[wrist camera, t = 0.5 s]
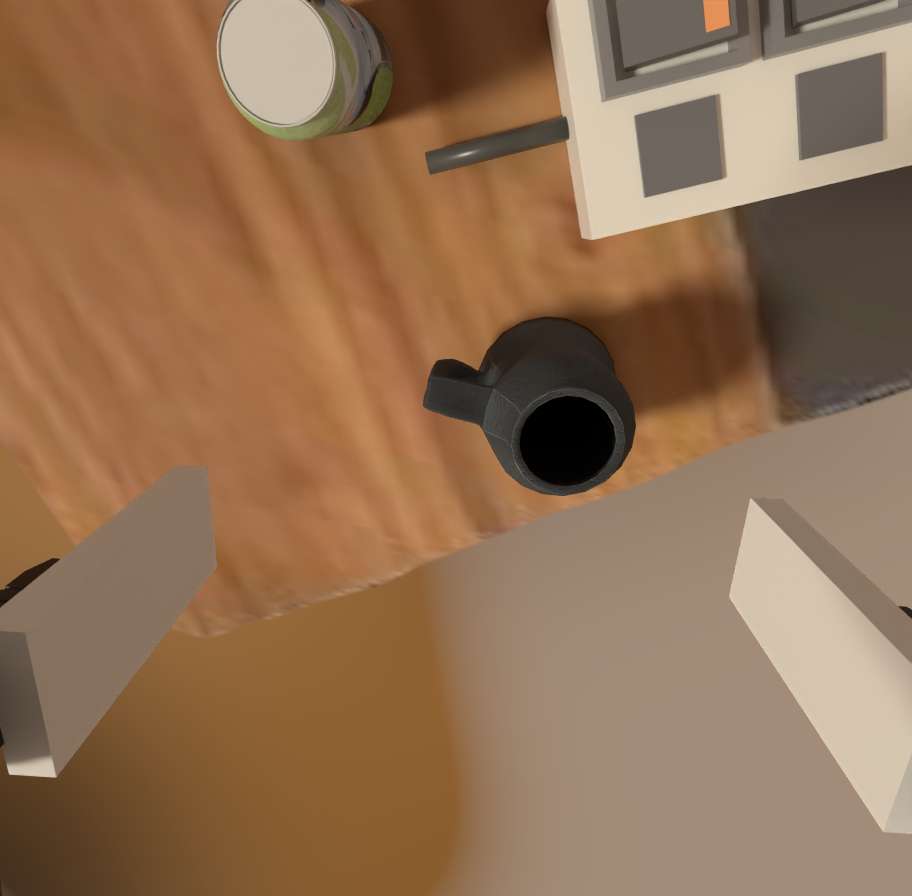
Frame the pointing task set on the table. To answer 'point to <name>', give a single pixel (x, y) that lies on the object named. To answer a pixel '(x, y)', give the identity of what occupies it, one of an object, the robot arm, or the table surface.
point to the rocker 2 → (823, 9)
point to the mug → (543, 405)
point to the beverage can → (303, 66)
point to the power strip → (717, 112)
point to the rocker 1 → (672, 28)
